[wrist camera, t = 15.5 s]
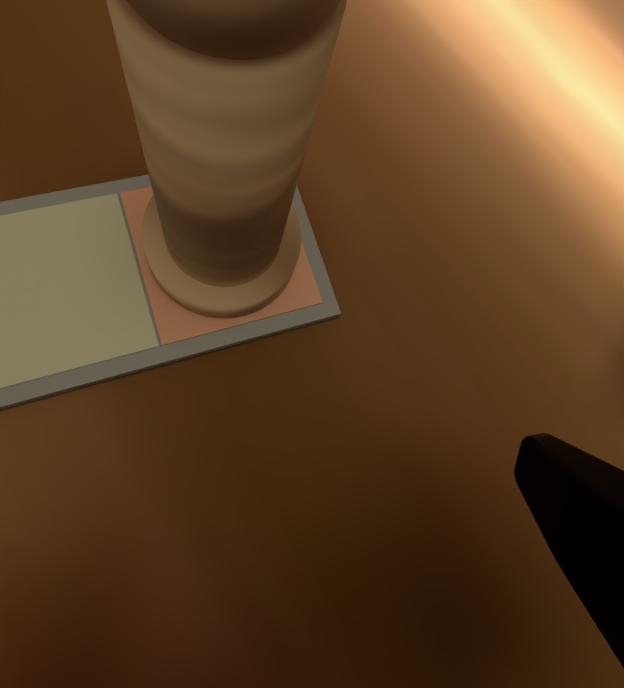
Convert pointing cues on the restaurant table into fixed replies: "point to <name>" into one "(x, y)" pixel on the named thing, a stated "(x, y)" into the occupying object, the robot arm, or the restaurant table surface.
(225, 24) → the pawn
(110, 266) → the board
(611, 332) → the restaurant table surface
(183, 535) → the restaurant table surface
